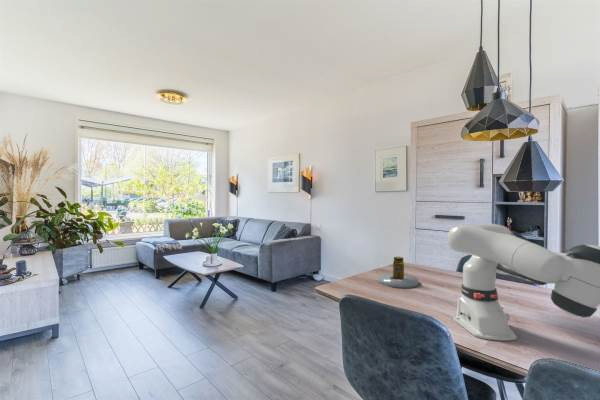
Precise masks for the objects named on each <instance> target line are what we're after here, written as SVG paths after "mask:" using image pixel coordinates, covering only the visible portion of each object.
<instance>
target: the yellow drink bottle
mask: <svg viewBox="0 0 600 400" xmlns="http://www.w3.org/2000/svg"><path fill="white" fill-rule="evenodd" d="M392 273H393V276H392V277H390V279H393V280H398V281H401V280H403V279H405V278H407V277H404V274H405V263H404V257H403V256H394V257H393V262H392Z"/></svg>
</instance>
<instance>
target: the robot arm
mask: <svg viewBox="0 0 600 400" xmlns="http://www.w3.org/2000/svg"><path fill="white" fill-rule="evenodd" d="M446 238H447V244H448V245H449V247H450V248H451V249H452V250H453V251H454V252H458V253H463V254H468V255H471V256H470V257H469V259H468V260H467V261H465V263H464V264H463V266H462V284H461V287H460V288H461V289H460V290H461V296H460V297H459V298H458V299H457V308H456V315H455V316H453V318H452V320H453V322H455V323H457V324H458V325H460V327H462V328H463V329H465V330H466V331H467V332H469V333H470V334H471V335H473V336H474V337H477V338H480V339H484V340H490V341H492V340H493V341H515V340H517V339H518V338H517V335H516V334H515V332H514V331H513V330H512V329H511V327H510V326H509V321H510V318H511V317H510V314H509V313H506V312H505V311H504V307H503V306H501V304H500V302H499V294H498V291H497V287H496V280H497V279H496V276H497V274H500V275H503V276H509V277H511V278H516V279H518V280H521V281H525V282H527V283H530V284H534V285H539V286H544V285H548V284H554V288H553V289H552V291H551V294H550V300H551V301H552V303H553V304H554V305H555V306H557V307H558V309H560V310H561V311H563V312H565V313H567V314H569V315H571V316H575V317H581V318H589V317H591V316H593V315H594V314H595V312H596V311H597V310H598V306H599V305H600V246H599V245H596V244H595V245H594V244H578V245H574V246H572V247H571V248H569V249H566V248H564V249H563V251H564V252H559V251H558V252H554V251H551V250H550V249H548V248H546V247H543V246H541V245H540V244H536V243H534V242H531V241H529V240H528V239H527V238H526V236H523V235H522V234H520V233H519V232H516V231H514V230H511V229H509V228H508V227H506V226H505V225H501V224H496V223H487V222H486V223H485V222H484V223H476V224H474V223H473V224H461V225H457V226H454V227H451V228H450V229H449V231H448V233H447V237H446ZM565 252H566V253H565Z"/></svg>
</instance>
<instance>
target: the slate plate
mask: <svg viewBox="0 0 600 400" xmlns="http://www.w3.org/2000/svg"><path fill="white" fill-rule="evenodd" d="M392 276H393V272H391V273H390V272H389V273H382V274H380V275H378V276H377V279H378V280H377V281H378V283H379V284H381V285H383V286H386V287H391V288H395V289H396V288H397V289H398V288H399V289H411V288H416V287H417V286H418V285H419V278H418V277H415V276H413V275H410V274H405V273H404V277H407V278H405V279H403V280H401V281H398V280H393V279H390V277H392Z"/></svg>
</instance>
